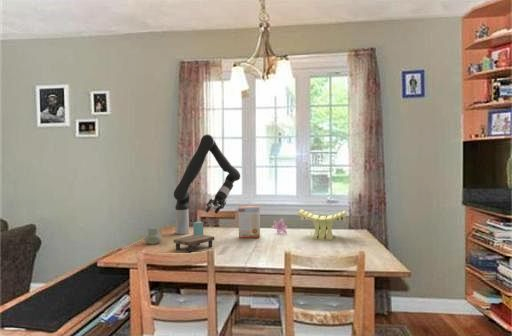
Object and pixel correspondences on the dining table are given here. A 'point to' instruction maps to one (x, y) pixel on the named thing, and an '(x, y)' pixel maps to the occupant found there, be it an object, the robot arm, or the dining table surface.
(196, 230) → the teal post
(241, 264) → the dining table surface
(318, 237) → the slatted curved stool
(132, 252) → the dining table surface
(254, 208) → the cracker box
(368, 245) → the dining table surface
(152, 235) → the air freshener
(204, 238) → the small wooden table
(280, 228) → the lily
